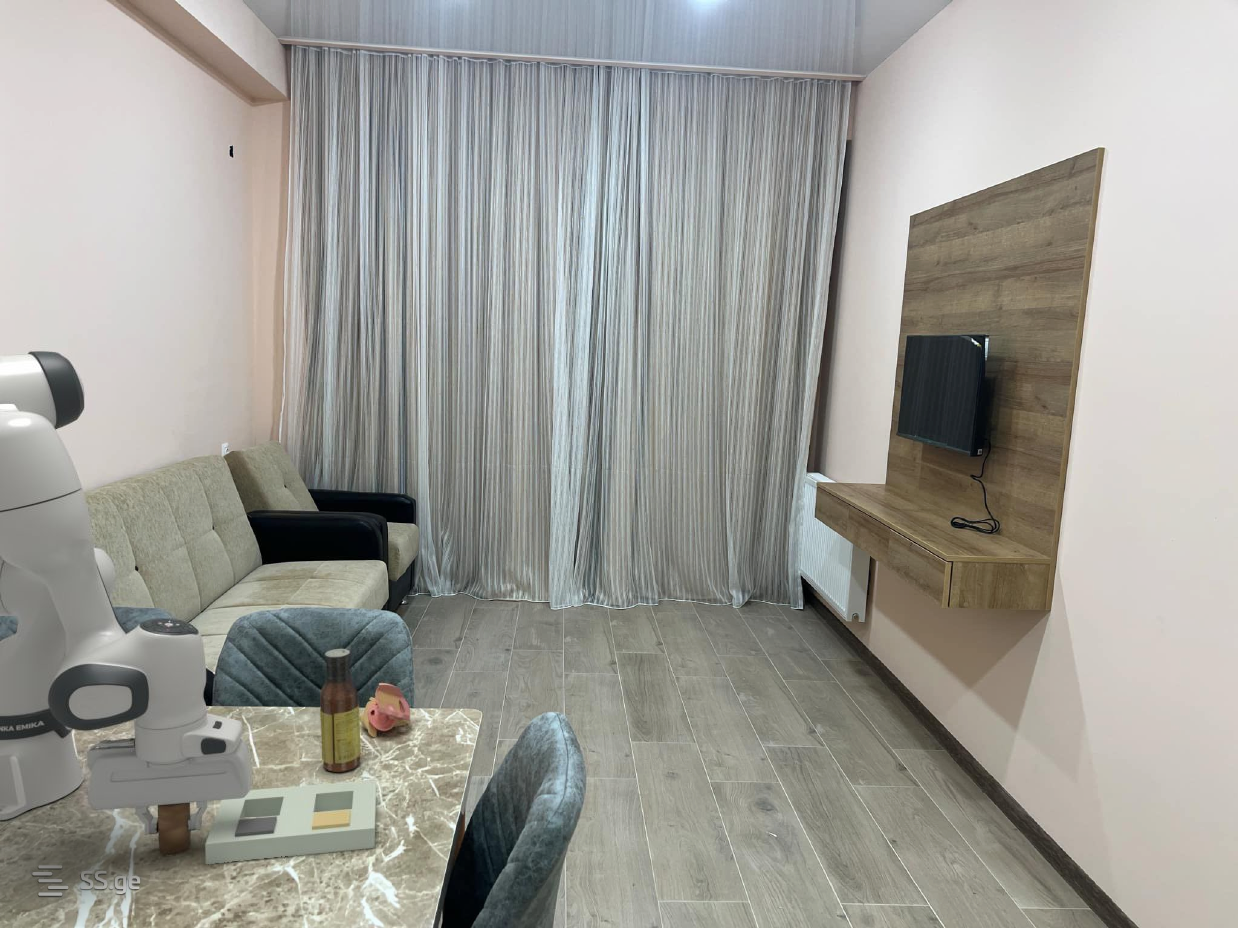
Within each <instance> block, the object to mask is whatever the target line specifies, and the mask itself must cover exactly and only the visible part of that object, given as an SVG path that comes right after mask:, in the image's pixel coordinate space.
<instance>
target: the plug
mask: <svg viewBox="0 0 1238 928" xmlns="http://www.w3.org/2000/svg"><path fill="white" fill-rule="evenodd" d="M190 814H191V803H179V804H167V805H157V817H158V836H157V837H158V853H159V854H160V855H163V856H166V855H168V856H167V857H169V855H172V856H176V854H177V855H180V854H182V852H183V853H185V852H187V851H188V850H189V849H190V848H191V846H192V842H191V841H192V839H191V837H192V833H191V831H188V827H189V825H188V819H189V818H190ZM189 847H190V848H189ZM179 853H180V854H179Z"/></svg>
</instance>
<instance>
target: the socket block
mask: <svg viewBox="0 0 1238 928" xmlns="http://www.w3.org/2000/svg"><path fill="white" fill-rule="evenodd" d="M376 806H377V780H376V779H372V780H359V781H348V782H347V781H346V782H345V781H344V782H337V783H336V782H335V783H334V782H333V783H322V784H311V785H309V784H308V785H296V786H286V787H274V788H273V787H272V788H261V789H250V791H249V792H248V794H247V795H246V796H245V797H244V798H240V799H227V800H220V803H219V806H218V809H217V812H216V815H215V818H214V820H213V823H212V826H211V828H210V831H209V834H208V836H207V839H206V842H205V844H204V847H205V865H206V864H207V865H208V864H209V865H216V864H215V863H219V864H227V862H229V863H233V862H232V861H239V860H240V861H239V862H245V861H244V860H249V861H251V860H250V859H259V860H265V859H264V858H268V859H275V858H274V857H278V858H286V857H285V856H288V857H297V856H306V855H316V854H326V853H327V854H329V853H335V852H347V851H356V850H366V849H375V844H376V843H375V841H376V839H375V838H376V816H377V815H376V813H377V812H376V810H377V807H376ZM245 817H256V818H245ZM296 855H297V856H296ZM281 856H282V857H281ZM224 862H225V863H224ZM207 865H206V866H207Z"/></svg>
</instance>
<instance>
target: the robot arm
mask: <svg viewBox="0 0 1238 928" xmlns="http://www.w3.org/2000/svg"><path fill="white" fill-rule="evenodd" d="M84 410H85V388H84V383H83V381H82V378H81V376H80V374H79V373H78V372H77V370H76V368H75V367H74V366H73V364H72V362H71V361H70V359H68V358H67V357H65V356H64V355H62V354H61V353H59V352H56V351H49V350H48V351H47V350H46V351H45V350H43V351H42V350H41V351H40V350H38V351H36V350H35V351H31V350H30V351H29V352H28V353H27V354H8V355H6V354H4V355H0V616H11V617H12V616H13V617H16V618H17V628H16V633H14V634H12V635H9V636H7V637H5V638H3V639H2V640H0V821H6V820H10V819H13V818H15V817H17V816H19V815H21V814H23V813H25V812H27V811H29V810H31V809H34V808H38V807H42V806H44V805H47V804H49V803H52V802H55V801H57V800H59V799H61V798H63V797H66V796H67V795H69V794H71V793H72V792H73V791H75V790H77V788H79V787H80V786H81V784H82V783H83V782H84V779H85V774H84V772H83V770H82V768H81V765H80V762H79V759H78V756H77V753H76V748H75V743H74V738H73V732H72V731H73V730H76V731H84V732H85V731H87V732H88V731H95V730H96V731H97V730H100V729H104V728H108V727H114V726H117V725H121V724H124V723H127V722H128V723H129V722H130V721H133V725H134V727H133V728H134V737H130V738H128V737H127V738H121V739H119V738H118V739H103V740H99V741H98V743H96V744H93V745H92V746H90V747H89V749H88V751H87V754H86V762H87V763H86V764H87V765H86V766H87V769H88V770H89V771H90V777H89V783H88V790H87V791H88V792H87V793H88V794H87V803H88V805H89V806H90V808H91V809H92V810H94V811H107V810H115V809H129V808H134V811H135V813H134V814H135V816H137V818H138V819H139V820H140V821H141V823H142V824H143V825H144V835H145V836H148V835H149V836H150V835H156V834H158V816H154V815H153V814H152V812H151V811H150V810H149V809H150V807H153V806H154V807H155V806H158V805H167V804H179V803H190V804H191V803H195V804H196V806H195V807H196V809H198V810H197V812H194V813H190V818H189V819H188V825H189V827H188V831H193V832H194V831H200V830H201V828H202V826H203V825H202V824H203V815H204V814H205V812H206V810H207V808H208V806H209V804H210V802H212V801H213V802H216V801H222V800H227V799H240V798H244V797H245V796H246V795H247V794H248V792H249V791H250V790H252V785H253V783H254V782H253V780H254V777H253V776H254V774H253V764H252V758H251V751H250V748H249V746H248V743H246V741H245V740H244V739H243V738H242V736H243V729H244V728H243V727H244V726H243V723H242V721H240V720H237V719H234V718H229V717H225V716H221V715H220V716H219V715H217V714H212V713H208V708H207V705H206V701H205V699H204V698H205V697H204V691H205V687H206V683H207V668H206V666H207V665H206V663H207V662H206V654H205V646H204V642H203V641H204V640H203V638H202V635H201V633H200V631H199V629H198V628H197V627H196V626H195V625H193V624H192V623H190V622H187V621H185V620H182V619H176V618H170V617H169V618H167V617H163V618H162V617H157V618H153V619H147V620H144V621H142V622H140V623H139V624H138V625H137V626H136V627H135V628H134V629H132V630H130V629H128V628H127V627H126V626H125V625H124V624H123V623H122V621H121V620H120V618H119V617H118V615H117V613H116V611H115V609H114V606H113V604H112V601H111V599H110V597H111V596H112V593H113V592H114V589H115V586H116V580H117V573H116V568H115V565H114V562H113V560H112V559H111V557H110V556H109V554H108V553H107V552H106V551H105V550H104V549H102V548H98V547H94V540H93V529H92V522H91V517H90V513H89V508H88V503H87V501H86V500H87V498H86V494H85V492H84V489H83V486H82V483H81V481H80V477H79V475H78V472H77V470H76V467H75V464H74V462H73V461H72V458H71V456H70V453H69V452H68V450H67V448H66V445H65V444H64V441H63V439H62V438H61V436H60V434H59V433H58V431H57V430H58V429H61V428H63V427H66V426H67V425H70V424H72V423H74V422H75V421H77V420H78V419H79V418H80V416H81V415H82V413H83V411H84Z"/></svg>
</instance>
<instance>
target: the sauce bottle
mask: <svg viewBox="0 0 1238 928" xmlns="http://www.w3.org/2000/svg"><path fill="white" fill-rule="evenodd" d="M351 656H352V655H351V651H350V650H349V649H346V648H337V649H336V648H335V649H331V650H328V651H326V652H325V653H324V662H325V664H326V676H325V678H326V680H325V682H324V684H323V686H322V687H321V690H320V697H319V698H320V699H319V700H320V709H319V711H320V713H319V715H320V736H321V741H320V743H321V759H322V761H323V763H322V765H323V768H324V769H325V770H326V771H329V772H333V773H344V772H348V771H351V770H355V768H357V767H358V766H359V765H360V762H361V752H362V751H361V750H362V749H361V747H362V746H361V745H362V744H361V729H360V727H361V721H360V700H359V696H358V693H357V691H356V689H355V686H354V685H355V684H354V683H353V680H352V677H351V672H350V671H351V666H350V664H351V663H350V661H351V658H352V657H351Z"/></svg>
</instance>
